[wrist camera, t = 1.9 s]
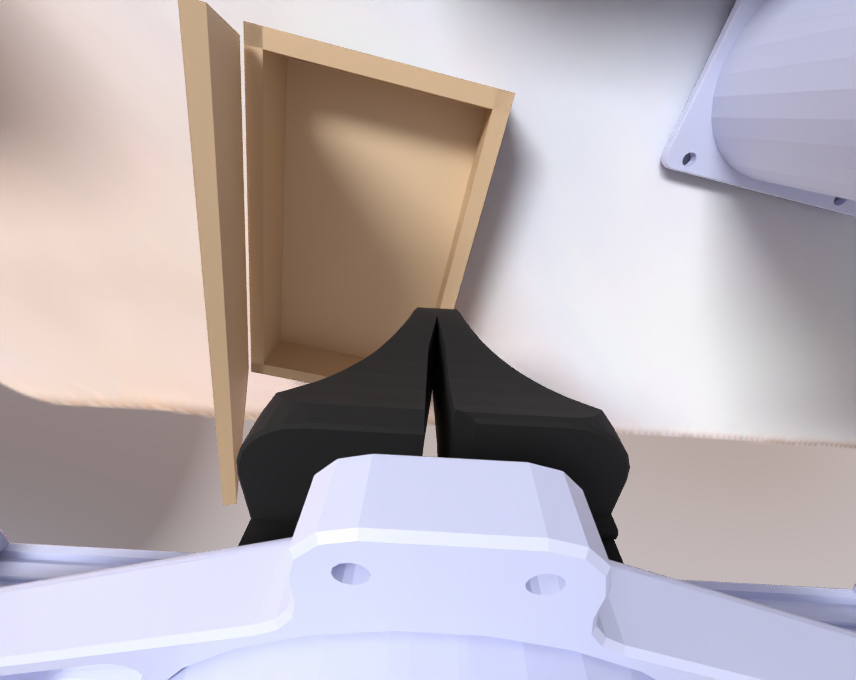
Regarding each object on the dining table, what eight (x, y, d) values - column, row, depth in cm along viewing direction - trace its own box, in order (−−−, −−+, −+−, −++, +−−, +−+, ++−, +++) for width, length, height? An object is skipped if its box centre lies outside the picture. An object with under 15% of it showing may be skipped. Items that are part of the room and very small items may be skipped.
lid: (205, 2, 6) (169, -9, 6) (236, 503, 13) (219, 506, 13) (239, 35, 12) (221, 29, 12) (248, 368, 19) (237, 369, 19)
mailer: (503, 96, 15) (515, 93, 13) (428, 373, 22) (426, 405, 20) (276, 36, 15) (243, 20, 12) (272, 342, 22) (251, 371, 19)
